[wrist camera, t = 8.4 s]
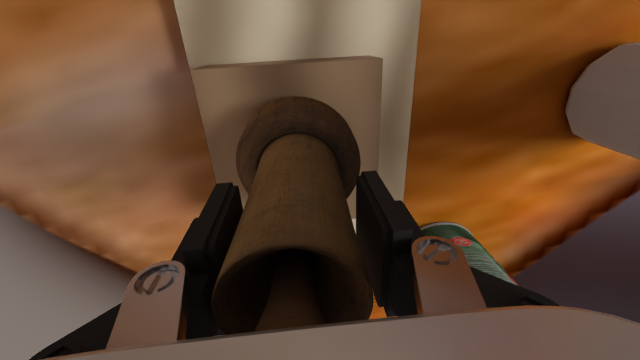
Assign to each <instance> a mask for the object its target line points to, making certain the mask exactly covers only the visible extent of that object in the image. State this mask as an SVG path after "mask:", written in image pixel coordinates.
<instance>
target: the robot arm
mask: <svg viewBox="0 0 640 360" xmlns="http://www.w3.org/2000/svg"><path fill="white" fill-rule="evenodd" d="M242 213H243V206H242V201H241V196H240V191H239V187H238V185H236V186H234V185H233V183H232V182H228V183H217V184H216V186H215V187H214V189H213V191H212V193H211V195H210V197H209V199H208V201H207V203H206V205H205V207H204V208H203V210H202V212H201V214H200V216H199V218H195V219H194V220H193V222H192V223H191V225H190V227H189V229H188V231H187V232H186V234H185V236H184V238H183V240H182V242H181V243H180V245H179V247H178V249H177V251H176V253H175V254H174V256H173V258H172V260H171V261H170V260H169V261H162V262H158V263H155V264H152V265H150V266H148V267H146V268H144V269H143V270H142V271H140V272H139V273H137V274H136V276H134V277H133V279H131V281H130V283H129V285H128V287H127V290H126V293H125V295H124V298H123V301H122V303H120V304H119V305H117V306H115V307H114V308H112V309H110V310H109V311H107V312H105V313H104V314H102V315H100V316H98V317H97V318H95V319H93V320H92V321H91V322H88V323H87V324H85V325H83V326H82V327H80V328H78V329H77V330H75V331H73V332H71V333H70V334H68V335H66V336H65V337H63V338H61V339H60V340H58V341H56V342H55V343H53V344H51V345H49V346H48V347H46V348H44V349H43V350H42V351H40V352H39V353H37V354H36V355H34V356H33V357H32V358H31V359H29V360H640V324H638V323H635V322H632V321H629V320H627V319H624V318H620V317H616V316H613V315H609V314H605V313H600V312H595V311H590V310H585V309H580V308H571V307H560V306H559V305H558V304H556V303H555V302H553V301H552V300H550V299H548V298H546V297H544V296H542V295H540V294H538V293H535V292H532V291H530V290H528V289H525V288H523V287H520V286H518V285H515V284H513V283H510V282H508V281H505V280H503V279H500V278H498V277H495V276H493V275H490V274H488V273H485V272H483V271H480V270H478V269H476V268H473V267H471V266H469V264H468V262H467V259H466V257H465V255H464V252H463V251H462V249H461V248H460V247H459V246H458V245H457V244H455V243H454V242H452V241H450V240H448V239H445V238H442V237H437V236H425V235H424V233H423V232H422V230H421V229H420V227H419V226H418V224H417V223H416V221H415V220H414V218H413V217H412V215H411V214H410V212H409V211H408V209H407V208H406V206H405V205H404V203H403V202H402V201H401V200H394V199H393V197H392V195H391V194H390V192H389V191H388V189H387V187H386V186H385V184H384V183H383V181H382V179H381V178H380V176H379V175H378V173H377V171H376V170H375V171H363V172H361V175H358V176H356V236H357V240H358V243H359V246H360V250H361V253H362V256H363V260H364V263H365V266H366V270H367V273H368V276H369V279H370V283H371V286H372V289H373V292H374V295H375V298H376V301H377V304H378V306H379V307H384V309H385V312H386V315H387V317H388V318H379V319H369V320H359V321H350V322H340V323H331V324H322V325H312V326H303V327H294V328H285V329H276V330H267V331H258V332H248V333H239V334H231V335H225V334H224V333H223V332H222V331H221V329H220V328H219V326H218V325H217V323H216V321H215V318H214V315H213V313H212V308H211V299H212V294H213V290H214V287H215V284H216V281H217V279H218V276H219V273H220V270H221V268H222V265H223V263H224V260H225V257H226V255H227V252H228V250H229V247H230V245H231V242H232V239H233V237H234V234H235V232H236V229H237V226H238V223H239V221H240V218H241V215H242ZM392 316H398V317H392ZM217 335H222V336H217Z"/></svg>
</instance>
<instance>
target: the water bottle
mask: <svg viewBox="0 0 640 360" xmlns="http://www.w3.org/2000/svg"><path fill="white" fill-rule="evenodd" d="M565 111H566V115H567V118H568V121H569V125H570V128H571V131H572V133H573V134H575V135H577V136H579V137H581V138H583V139H585V140H586V141H588V142H591V143H594V144H597V145H600V146H603V147H605V148H608V149H611V150H614V151H617V152H620V153H623V154H626V155H628V156H631V157H634V158H637V159H640V42H637V43H629V44H621V45H619V46H617V47H616V48H614V49H612V50H611V51H609V52H608V53H606V54H605V55H603V56H602V57H600V58H599V59H597V60H596V61H594V62H592V63H591V64H589V65H588V66H587V67H586V69H585V70H584V71H583V73H582V74H581V75H580V77H579V78H578V79H577V81H576V82H575V83H574V85H573V86H572V87H571V90H570V94H569V98H568V101H567V105H566V109H565Z"/></svg>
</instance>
